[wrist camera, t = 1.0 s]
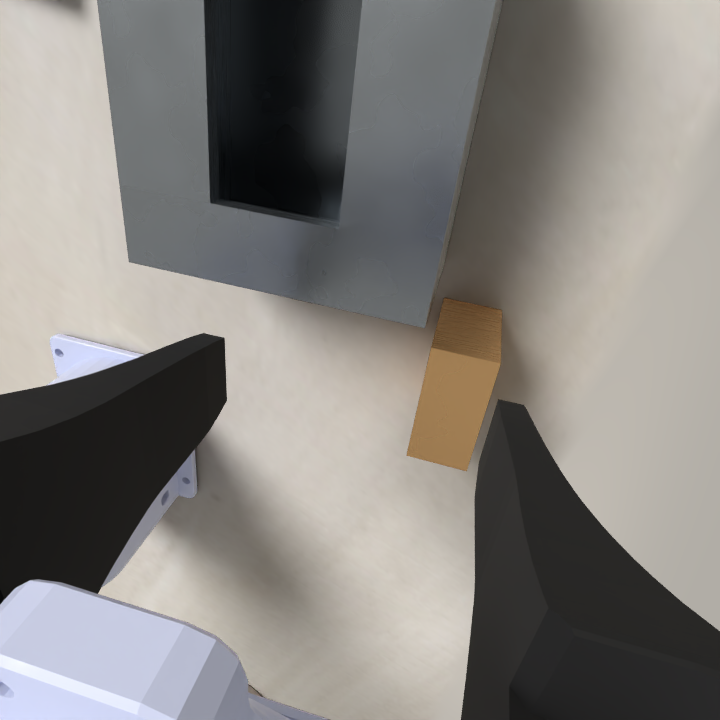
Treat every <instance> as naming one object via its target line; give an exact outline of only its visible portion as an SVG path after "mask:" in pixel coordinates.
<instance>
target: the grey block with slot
mask: <svg viewBox="0 0 720 720" xmlns="http://www.w3.org/2000/svg"><path fill="white" fill-rule="evenodd" d="M97 3H98V11H99V20H100V28H101V36H102V44H103V52H104V61H105V69H106V77H107V85H108V94H109V102H110V110H111V118H112V127H113V135H114V143H115V151H116V159H117V168H118V176H119V184H120V192H121V201H122V209H123V217H124V225H125V233H126V242H127V250H128V258H129V262H131V263H135V264H140V265H144V266H149V267H153V268H158V269H162V270H167V271H171V272H176V273H180V274H185V275H189V276H194V277H198V278H203V279H207V280H211V281H216V282H220V283H225V284H229V285H234V286H238V287H243V288H247V289H252V290H256V291H261V292H265V293H270V294H274V295H279V296H283V297H287V298H292V299H296V300H301V301H305V302H310V303H314V304H319V305H323V306H328V307H332V308H337V309H341V310H346V311H350V312H355V313H359V314H363V315H368V316H372V317H377V318H381V319H386V320H390V321H395V322H399V323H404V324H408V325H413V326H417V327H422V328H425V326H426V323H427V320H428V316H429V313H430V310H431V306H432V303H433V300H434V296H435V293H436V290H437V286H438V283H439V280H440V276H441V273H442V270H443V266H444V263H445V259H446V254H447V250H448V245H449V241H450V236H451V232H452V227H453V223H454V218H455V214H456V209H457V205H458V200H459V196H460V191H461V187H462V182H463V178H464V173H465V169H466V164H467V160H468V155H469V151H470V146H471V142H472V137H473V133H474V128H475V124H476V119H477V115H478V110H479V106H480V101H481V97H482V92H483V88H484V83H485V79H486V74H487V70H488V65H489V61H490V56H491V52H492V47H493V43H494V39H495V34H496V30H497V25H498V21H499V16H500V12H501V7H502V3H503V0H97Z"/></svg>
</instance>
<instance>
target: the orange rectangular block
mask: <svg viewBox="0 0 720 720" xmlns="http://www.w3.org/2000/svg"><path fill="white" fill-rule="evenodd" d="M501 328H502V310H499V309H494V308H490V307H485V306H480V305H476V304H471V303H466V302H462V301H457V300H452V299H448V298H444V301H443V304H442V308H441V312H440V316H439V320H438V324H437V327H436V331H435V335H434V339H433V343H432V346H431V351H430V355H429V359H428V364H427V368H426V372H425V377H424V381H423V386H422V390H421V394H420V399H419V403H418V407H417V412H416V416H415V420H414V425H413V429H412V434H411V438H410V442H409V447H408V451H407V456H410V457H414V458H418V459H422V460H426V461H430V462H433V463H437V464H441V465H445V466H449V467H452V468H456V469H460V470H464V471H467V468H468V465H469V462H470V459H471V456H472V453H473V450H474V446H475V443H476V440H477V437H478V434H479V431H480V428H481V424H482V421H483V418H484V415H485V412H486V409H487V406H488V402H489V399H490V396H491V393H492V390H493V387H494V384H495V381H496V377H497V374H498V371H499V368H500V365H501Z"/></svg>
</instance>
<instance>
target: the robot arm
mask: <svg viewBox="0 0 720 720" xmlns="http://www.w3.org/2000/svg"><path fill="white" fill-rule="evenodd" d="M50 346H51V350H52V354H53V359H54V363H55V367H56V372H57V376H58V377H57V378H56V379H55V380H53V381H52V382H50V383H49V384H48V385H46V386H43V387H38V388H33V389H27V390H22V391H17V392H12V393H7V394H2V395H0V720H329V719H326V718H323V717H320V716H317V715H314V714H311V713H308V712H305V711H302V710H299V709H296V708H293V707H290V706H287V705H284V704H281V703H278V702H275V701H272V700H269V699H266V698H263V697H260V696H257V695H254V694H251V693H248V679H247V677H246V674H245V671H244V669H243V667H242V664H241V662H240V660H239V658H238V655H237V654H236V653H235V652H234V651H233V650H232V649H230V648H229V647H228V646H227V645H226V644H225V643H224V642H223V641H221V640H220V639H219V638H218V637H217V636H215V635H213V634H211V633H209V632H207V631H205V630H203V629H201V628H198V627H196V626H194V625H192V624H190V623H188V622H184V621H181V620H178V619H175V618H172V617H169V616H166V615H162V614H159V613H156V612H153V611H150V610H147V609H144V608H140V607H137V606H134V605H131V604H128V603H125V602H121V601H118V600H115V599H112V598H109V597H106V596H103V595H99V594H98V592H99V591H100V589H101V587H103V586H104V585H106V584H107V583H108V582H110V581H111V580H112V579H113V578H115V577H116V576H117V575H118V574H119V573H120V572H121V571H122V569H123V568H124V567H125V566H126V564H127V563H128V562H129V560H130V559H131V558H132V556H133V555H134V554H135V552H136V551H137V550H138V548H139V547H140V546H141V544H142V543H143V542H144V540H145V539H146V538H147V536H148V535H149V534H150V532H151V531H152V530H153V528H154V527H155V526H156V524H157V523H158V522H159V520H160V519H161V518H162V516H163V515H164V514H165V512H166V511H167V510H168V509H169V507H170V506H171V505H172V503H173V502H174V501H175V499H176V498H177V497H178V495H179V496H183V497H186V498H193V497H194V496H195V495H196V493H197V476H196V460H195V448H196V447H197V446H198V444H199V443H200V442H201V441H202V439H203V438H204V437H205V436H206V434H207V433H208V432H209V430H210V429H211V427H212V425H213V424H214V422H215V420H216V419H217V417H218V415H219V414H220V412H221V410H222V408H223V406H224V405H225V403H226V401H227V393H226V366H225V339H224V338H222V337H218V336H213V335H209V334H205V333H203V334H199V335H196V336H193V337H190V338H187V339H184V340H182V341H179V342H176V343H174V344H171V345H169V346H166V347H164V348H161V349H158V350H156V351H153V352H151V353H148V354H146V355H143V354H139V353H135V352H131V351H127V350H123V349H119V348H115V347H111V346H107V345H103V344H99V343H95V342H91V341H87V340H83V339H79V338H75V337H71V336H67V335H63V334H56V335H54V336H52V337H51V338H50ZM461 720H720V631H718V630H717V629H716V628H715V627H713V626H712V625H711V624H709V623H708V622H707V621H706V620H704V619H703V618H702V617H700V616H699V615H698V614H697V613H695V612H694V611H692V610H691V609H690V608H689V607H687V606H686V605H685V604H683V603H682V602H681V601H680V600H679V599H678V598H676V597H675V596H674V595H673V594H672V593H671V592H670V591H668V590H667V589H666V588H665V587H664V586H663V585H661V584H660V583H659V582H658V581H657V580H656V579H655V578H653V577H652V576H651V575H650V574H649V573H648V572H647V571H646V570H645V569H644V568H643V567H642V566H641V565H640V564H639V563H637V562H636V561H635V560H634V559H633V558H632V557H631V556H630V555H629V554H628V553H627V551H626V550H625V549H624V548H623V547H622V546H621V545H619V543H618V542H617V541H616V540H615V539H614V538H613V537H612V536H611V535H610V534H609V533H608V532H607V530H606V529H605V528H604V527H603V526H602V525H601V524H600V522H599V521H598V520H597V519H596V518H595V517H594V515H593V514H592V513H591V512H590V510H589V509H588V508H587V507H586V506H585V504H584V503H583V502H582V501H581V499H580V498H579V497H578V495H577V494H576V493H575V491H574V490H573V488H572V487H571V485H570V484H569V483H568V481H567V480H566V478H565V477H564V475H563V474H562V472H561V471H560V469H559V467H558V466H557V464H556V462H555V461H554V459H553V457H552V456H551V454H550V452H549V451H548V449H547V447H546V445H545V444H544V442H543V440H542V438H541V436H540V434H539V433H538V431H537V429H536V427H535V425H534V423H533V421H532V419H531V417H530V415H529V413H528V411H527V409H526V408H525V406H524V405H521V404H517V403H512V402H508V401H503V400H499V399H498V402H497V406H496V409H495V412H494V415H493V419H492V422H491V425H490V428H489V432H488V435H487V438H486V441H485V445H484V448H483V451H482V454H481V458H480V461H479V467H478V475H477V482H476V491H475V594H474V606H473V616H472V626H471V636H470V645H469V655H468V664H467V673H466V682H465V690H464V699H463V708H462V715H461Z"/></svg>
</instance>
